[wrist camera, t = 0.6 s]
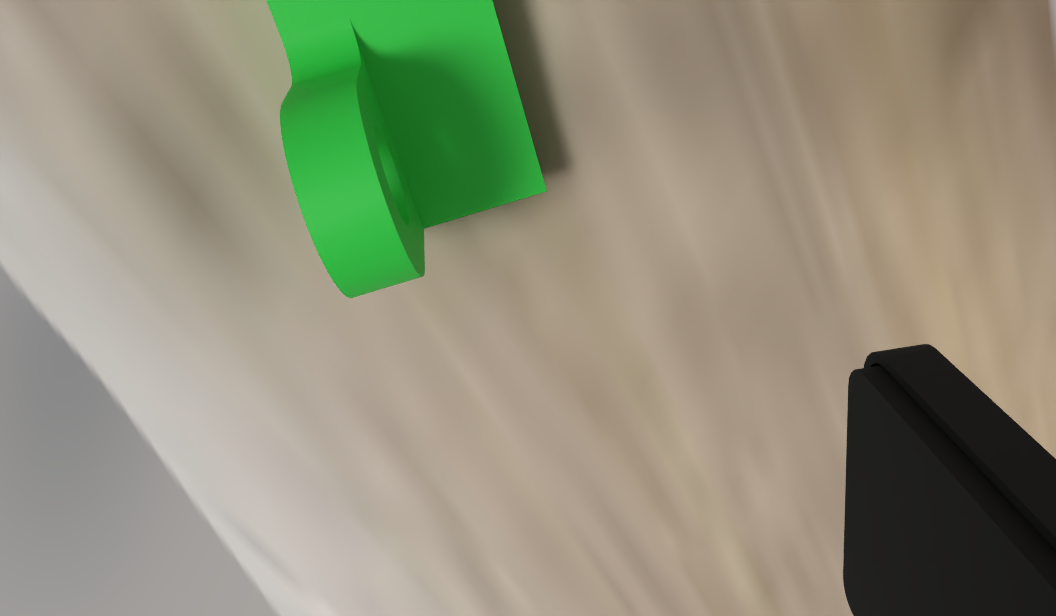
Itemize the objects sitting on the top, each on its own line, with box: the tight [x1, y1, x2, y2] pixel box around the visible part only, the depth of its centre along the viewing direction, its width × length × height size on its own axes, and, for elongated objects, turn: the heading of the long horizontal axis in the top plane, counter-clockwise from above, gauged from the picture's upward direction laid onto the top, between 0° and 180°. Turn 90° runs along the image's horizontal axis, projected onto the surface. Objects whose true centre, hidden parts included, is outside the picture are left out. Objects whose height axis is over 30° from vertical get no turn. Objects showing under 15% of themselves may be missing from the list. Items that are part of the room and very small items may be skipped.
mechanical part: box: [267, 0, 547, 298], centre depth 25 cm, size 12×6×8 cm, turn 16°
